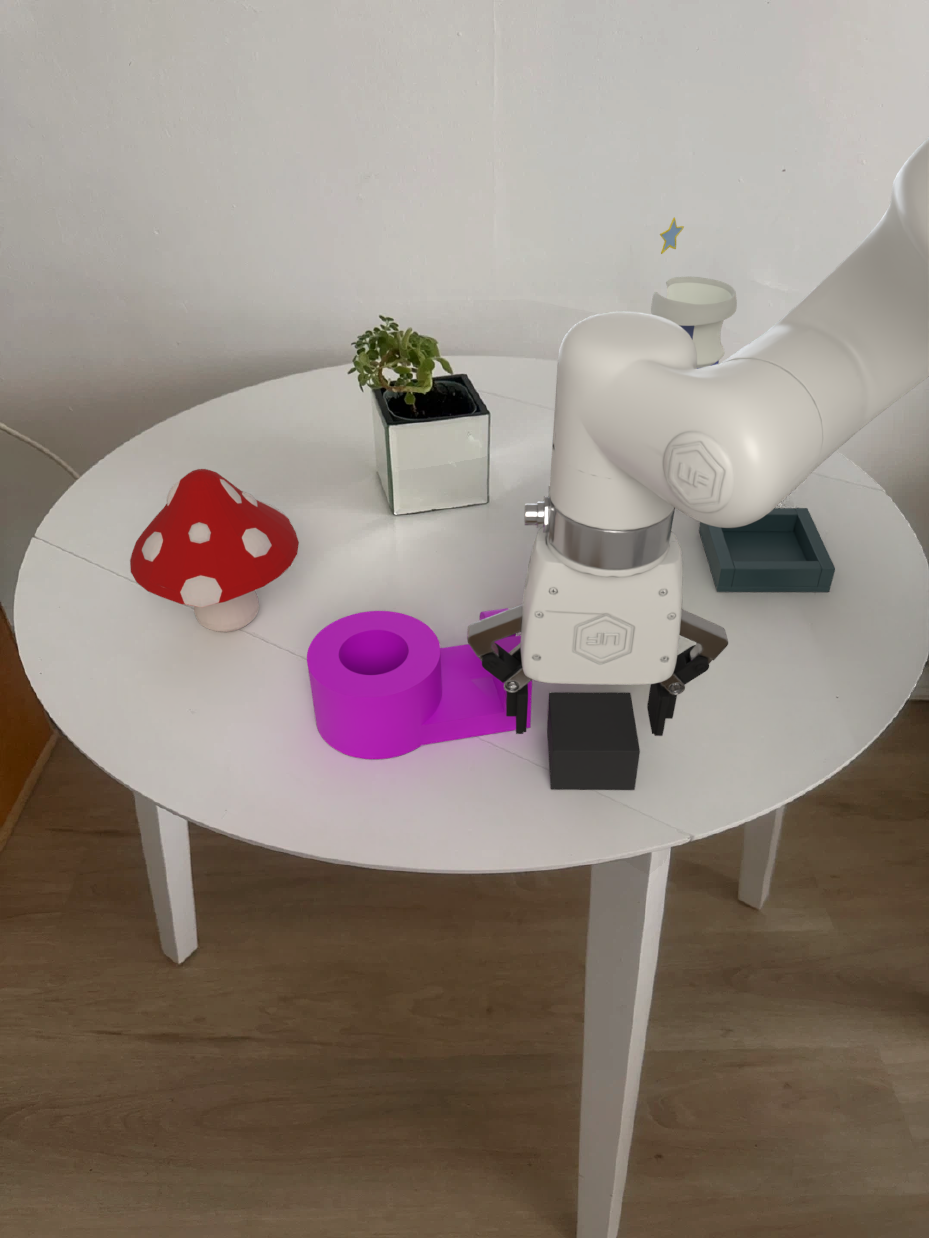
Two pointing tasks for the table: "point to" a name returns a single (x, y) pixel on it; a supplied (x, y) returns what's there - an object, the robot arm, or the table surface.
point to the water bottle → (696, 306)
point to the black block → (592, 741)
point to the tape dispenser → (401, 686)
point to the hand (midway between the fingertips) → (587, 720)
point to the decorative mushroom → (213, 550)
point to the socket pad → (769, 554)
